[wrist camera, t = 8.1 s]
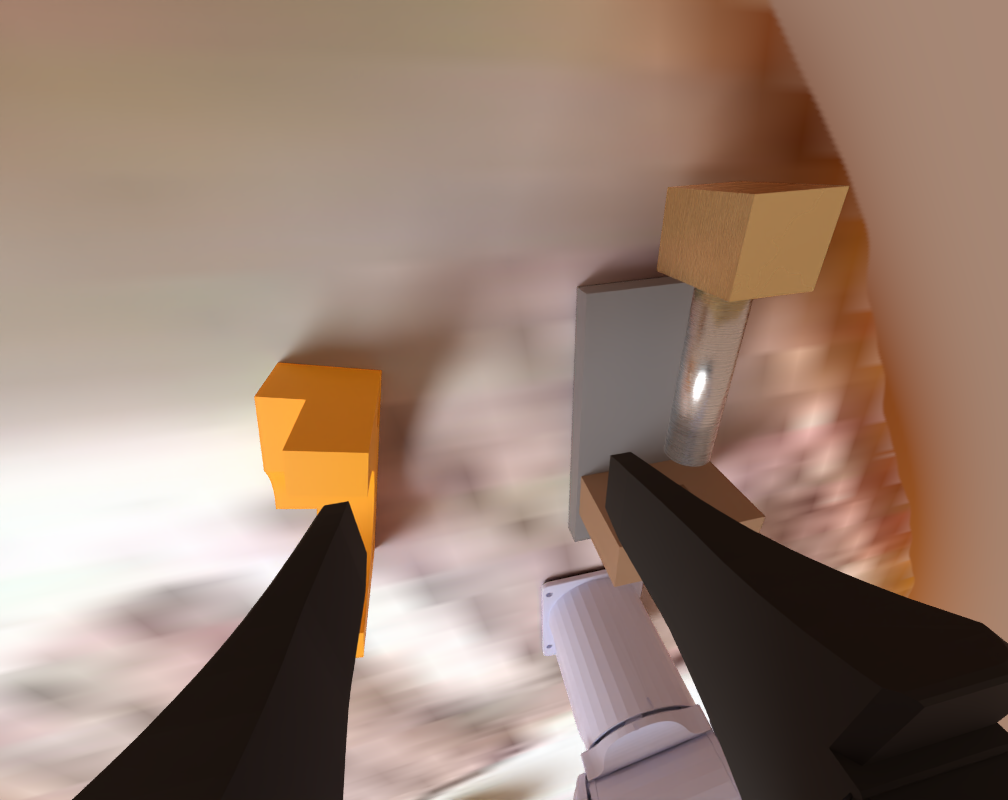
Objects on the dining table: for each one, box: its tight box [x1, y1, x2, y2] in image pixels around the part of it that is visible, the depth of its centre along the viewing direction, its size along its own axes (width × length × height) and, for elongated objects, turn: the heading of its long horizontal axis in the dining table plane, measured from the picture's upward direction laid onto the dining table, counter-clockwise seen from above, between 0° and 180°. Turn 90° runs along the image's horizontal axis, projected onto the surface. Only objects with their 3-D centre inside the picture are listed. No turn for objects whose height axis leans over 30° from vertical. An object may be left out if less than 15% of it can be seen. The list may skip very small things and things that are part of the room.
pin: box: [657, 181, 849, 467], centre depth 16 cm, size 11×3×4 cm, turn 3°
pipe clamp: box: [254, 362, 382, 658], centre depth 18 cm, size 12×4×6 cm, turn 169°
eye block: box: [568, 276, 765, 587], centre depth 20 cm, size 16×8×6 cm, turn 3°
